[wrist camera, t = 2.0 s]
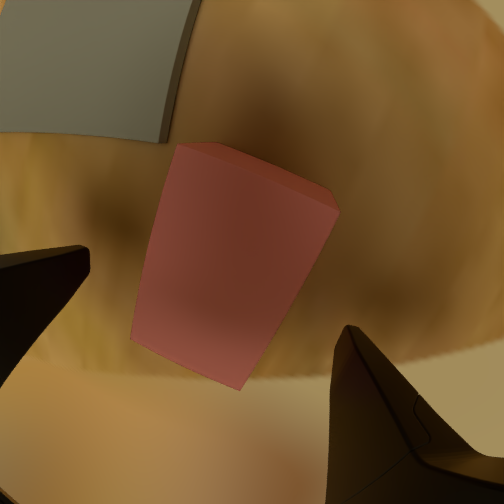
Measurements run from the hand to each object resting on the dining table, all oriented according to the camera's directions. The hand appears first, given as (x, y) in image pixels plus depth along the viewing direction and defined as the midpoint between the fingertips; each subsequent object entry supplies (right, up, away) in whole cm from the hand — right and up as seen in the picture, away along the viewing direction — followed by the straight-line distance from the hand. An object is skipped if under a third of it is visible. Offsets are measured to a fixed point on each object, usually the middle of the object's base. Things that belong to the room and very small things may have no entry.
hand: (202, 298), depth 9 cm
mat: (-9, +15, +1) cm, 17 cm away
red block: (+1, +2, +4) cm, 5 cm away
